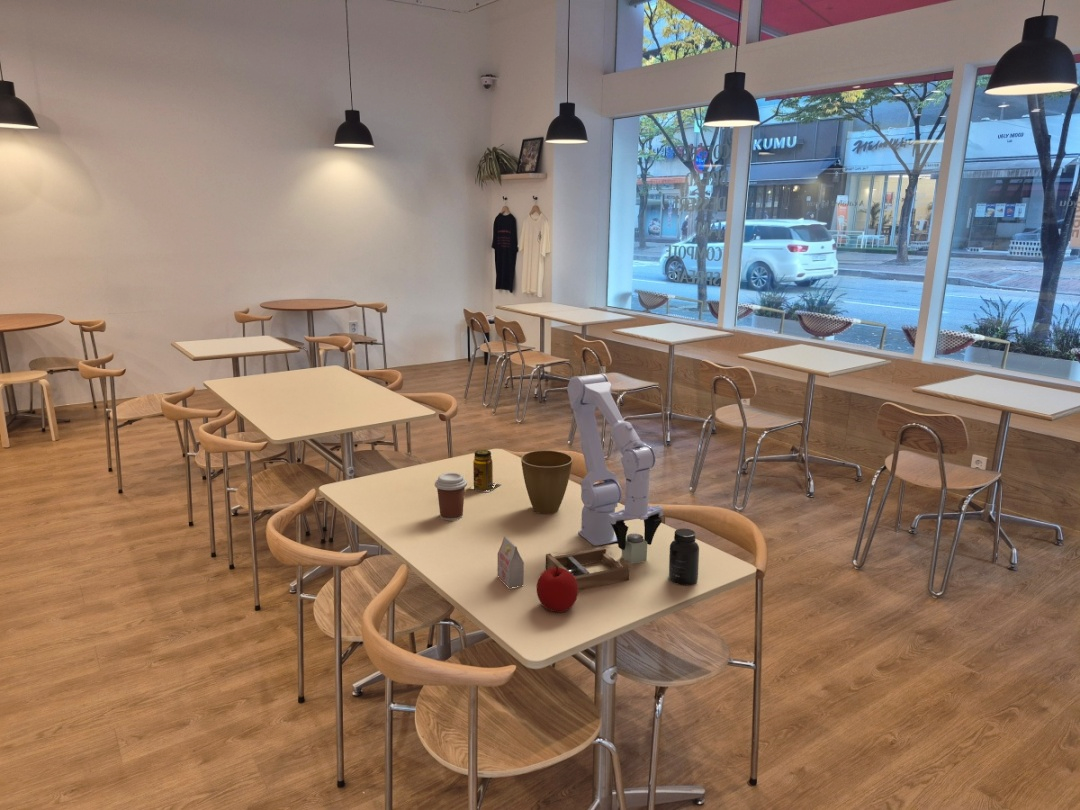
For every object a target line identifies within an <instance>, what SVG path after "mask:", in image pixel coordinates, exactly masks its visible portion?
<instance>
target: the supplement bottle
mask: <svg viewBox="0 0 1080 810" xmlns="http://www.w3.org/2000/svg"><path fill="white" fill-rule="evenodd" d="M673 539H674V540H672V542H671V543H670V545H669V557H668V558H669V559H668V560H669V561H668V564H669V565H668V578H669V579H670V581H671V582H673V583H674V584H677V585H679V584H680V586H690V585H693V584H695V583H697V582H698V579H699V568H700V567H699V562H700V546H699V544H698V543H697V542H696V540H697V539H696V532H695V531H694V530H693V529H690V528H677V529H675V530H674V536H673Z"/></svg>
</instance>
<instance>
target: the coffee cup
mask: <svg viewBox="0 0 1080 810" xmlns="http://www.w3.org/2000/svg"><path fill="white" fill-rule="evenodd" d="M467 486H468V481H467V480H466V479H465V478H464V475H462V474H461V473H458V472H446V473H442V474H439V476H438V477H437V479H436V480H435V482H434V487H435V488H436V489H437V491H436V492H437V500H438V508H439V516H440V517H439V518H440V519H441V518H442V519H441V520H443V519H444V521H448V520H449V521H450V520H451V521H457V519H458V520H460V518H461V519H462V518H463V517H462V516H464V503H465V502H464V500H465V488H466V487H467ZM449 521H448V522H449Z"/></svg>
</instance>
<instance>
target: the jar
mask: <svg viewBox="0 0 1080 810" xmlns="http://www.w3.org/2000/svg"><path fill="white" fill-rule="evenodd" d="M621 557H622V558H623V559H624V560H625V561H626V562H627V563H629V564H630V565H632V564H638V563H642V562H647V560H648V559H647V557H648V544H647V541H646V540H644V535H642V534H639V533H629V534H626V546H625V550H621Z"/></svg>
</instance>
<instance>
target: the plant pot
mask: <svg viewBox="0 0 1080 810" xmlns="http://www.w3.org/2000/svg"><path fill="white" fill-rule="evenodd" d="M573 460H574V459H573V457H572V456H571V455H570V454H568V453H566V452H562V451H557V450H552V449H551V450H549V449H547V450H546V449H543V450H542V449H541V450H532V451H529V452H526V453H524V454H522V456H521V457H520V462H521V467H522V474H523V480H524V484H525V489H526V491H527V494H528V498H529V501H530V505H531V507H532V509H533V511H534V512H536V513H538V514H541V515H551V514H555V513H557V512H558V511H559V509H560V507H561V505H562V502H563V500H564V497H565V495H566V491H567V487H568V485H569V484H568V483H569V480H570V475H571V470H572V467H573V466H572V465H573Z"/></svg>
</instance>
